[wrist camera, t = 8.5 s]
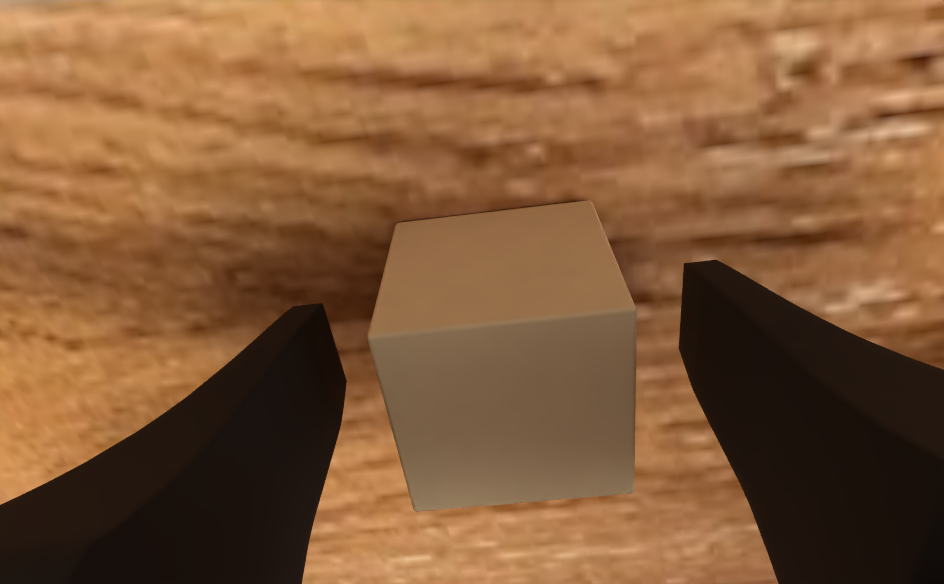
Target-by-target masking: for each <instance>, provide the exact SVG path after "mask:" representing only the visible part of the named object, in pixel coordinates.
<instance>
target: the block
mask: <svg viewBox="0 0 944 584" xmlns="http://www.w3.org/2000/svg"><path fill="white" fill-rule="evenodd" d="M636 328H637V309H636V307H635V304H634V302H633V299H632V297H631V295H630V292H629V290H628V287H627V285H626V283H625V280H624V278H623V275H622V273H621V270H620V268H619V266H618V263H617V261H616V258H615V256H614V254H613V251H612V249H611V246H610V244H609V241H608V239H607V237H606V234H605V232H604V229H603V227H602V225H601V222H600V220H599V217H598V215H597V212H596V210H595V208H594V205H593V203H592V201H589V200H587V201H579V202H570V203H562V204H553V205H545V206H536V207H528V208H519V209H511V210H503V211H494V212H486V213H477V214H469V215H460V216H452V217H443V218H435V219H426V220H418V221H410V222H401V223H397V224H396V226H395V230H394V234H393V237H392V241H391V245H390V249H389V253H388V257H387V261H386V265H385V269H384V273H383V277H382V281H381V285H380V289H379V293H378V297H377V301H376V305H375V309H374V313H373V317H372V321H371V325H370V329H369V333H368V337H367V339H368V343H369V346H370V350H371V354H372V358H373V361H374V365H375V369H376V372H377V376H378V380H379V383H380V387H381V391H382V394H383V398H384V402H385V406H386V409H387V413H388V417H389V420H390V424H391V428H392V431H393V435H394V439H395V442H396V446H397V450H398V453H399V457H400V461H401V465H402V468H403V472H404V476H405V479H406V483H407V487H408V490H409V494H410V498H411V501H412V505H413V508H414V510H415V511H417V512H418V511H430V510H442V509H453V508H465V507H477V506H489V505H501V504H512V503H524V502H536V501H548V500H560V499H572V498H583V497H595V496H607V495H619V494H631V493H633V491H634V469H635V398H636Z"/></svg>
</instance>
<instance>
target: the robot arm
mask: <svg viewBox="0 0 944 584" xmlns="http://www.w3.org/2000/svg"><path fill="white" fill-rule="evenodd" d="M679 350H680V353H681V356H682V359H683V362H684V365H685V368H686V371H687V374H688V377H689V380H690V383H691V386H692V388H693V391H694V393H695V395H696V397H697V399H698V401H699V403H700V405H701V407H702V409H703V411H704V413H705V415H706V417H707V419H708V421H709V423H710V425H711V427H712V429H713V431H714V433H715V435H716V437H717V439H718V441H719V443H720V445H721V447H722V449H723V451H724V453H725V455H726V457H727V459H728V461H729V463H730V465H731V467H732V469H733V471H734V472H735V474H736V476H737V478H738V480H739V482H740V484H741V487H742V489H743V491H744V493H745V496H746V498H747V500H748V502H749V504H750V507H751V510H752V512H753V515H754V518H755V520H756V523H757V526H758V528H759V531H760V534H761V536H762V539H763V542H764V544H765V547H766V549H767V552H768V555H769V558H770V561H771V563H772V566H773V569H774V572H775V575H776V578H777V580H778V583H779V584H944V370H943V369H940V368H937V367H934V366H931V365H928V364H926V363H923V362H920V361H917V360H914V359H912V358H909V357H906V356H904V355H902V354H899V353H897V352H894V351H892V350H889V349H887V348H884V347H882V346H879V345H877V344H875V343H872V342H870V341H867V340H865V339H863V338H861V337H858V336H856V335H854V334H852V333H850V332H847V331H845V330H843V329H841V328H839V327H837V326H835V325H833V324H831V323H829V322H827V321H825V320H823V319H821V318H819V317H817V316H815V315H813V314H811V313H810V312H808V311H806V310H804V309H802V308H800V307H798V306H797V305H795V304H793V303H791V302H789V301H788V300H786V299H784V298H782V297H781V296H779V295H777V294H775V293H774V292H772V291H770V290H768V289H767V288H765V287H763V286H762V285H760V284H758V283H757V282H755V281H753V280H751V279H750V278H748V277H746V276H745V275H743V274H741V273H740V272H738V271H736V270H734V269H733V268H731V267H729V266H727V265H725V264H723V263H721V262H719V261H717V260H711V261H701V262H692V263H684V271H683V288H682V305H681V321H680V338H679ZM346 383H347V381H346V377H345V374H344V371H343V368H342V364H341V361H340V358H339V355H338V351H337V348H336V345H335V342H334V338H333V335H332V332H331V328H330V325H329V322H328V319H327V315H326V312H325V309H324V306H323V303H320V304H311V305H302V306H294V307H292V308H291V309H289V310H288V311H287V312H286V313H284V314H283V315H282V316H281V317H280V318H278V319H277V320H276V321H275V322H274V323H273V324H272V325H271V326H269V327H268V328H267V329H266V330H265V331H264V332H263V333H262V334H260V335H259V336H258V337H257V338H256V339H255V340H254V341H253V342H252V343H250V344H249V345H248V346H247V347H246V348H245V349H244V350H243V351H241V352H240V353H239V354H238V355H237V356H236V357H235V358H234V359H232V360H231V361H230V362H229V363H228V364H227V365H225V366H224V367H223V368H222V369H221V370H219V371H218V372H217V373H216V374H214V375H213V376H212V377H211V378H209V379H208V380H207V381H206V382H205V383H203V384H202V385H201V386H200V387H198V388H197V389H196V390H195V391H194V392H192V393H191V394H190V395H189V396H187V397H186V398H185V399H183V400H182V401H181V402H179V403H178V404H176V405H175V406H174V407H172V408H171V409H170V410H168V411H167V412H165V413H164V414H162V415H161V416H159V417H158V418H157V419H155V420H154V421H152V422H151V423H149V424H148V425H146V426H145V427H143V428H142V429H140V430H139V431H137V432H136V433H134V434H132V435H131V436H129V437H127V438H126V439H124V440H122V441H121V442H119V443H117V444H116V445H114V446H112V447H110V448H109V449H107V450H105V451H104V452H102V453H100V454H99V455H97V456H95V457H94V458H92V459H90V460H89V461H87V462H85V463H83V464H81V465H80V466H78V467H76V468H74V469H72V470H70V471H68V472H66V473H65V474H63V475H61V476H59V477H57V478H55V479H53V480H51V481H49V482H47V483H45V484H43V485H41V486H39V487H37V488H35V489H33V490H31V491H29V492H27V493H25V494H23V495H21V496H19V497H16V498H14V499H12V500H10V501H8V502H6V503H3V504H1V505H0V584H302V578H303V572H304V567H305V561H306V555H307V549H308V543H309V539H310V534H311V530H312V526H313V522H314V518H315V514H316V511H317V507H318V504H319V500H320V497H321V493H322V490H323V487H324V483H325V480H326V476H327V473H328V469H329V466H330V462H331V459H332V455H333V452H334V448H335V444H336V441H337V437H338V434H339V430H340V426H341V421H342V414H343V408H344V400H345V391H346Z"/></svg>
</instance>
